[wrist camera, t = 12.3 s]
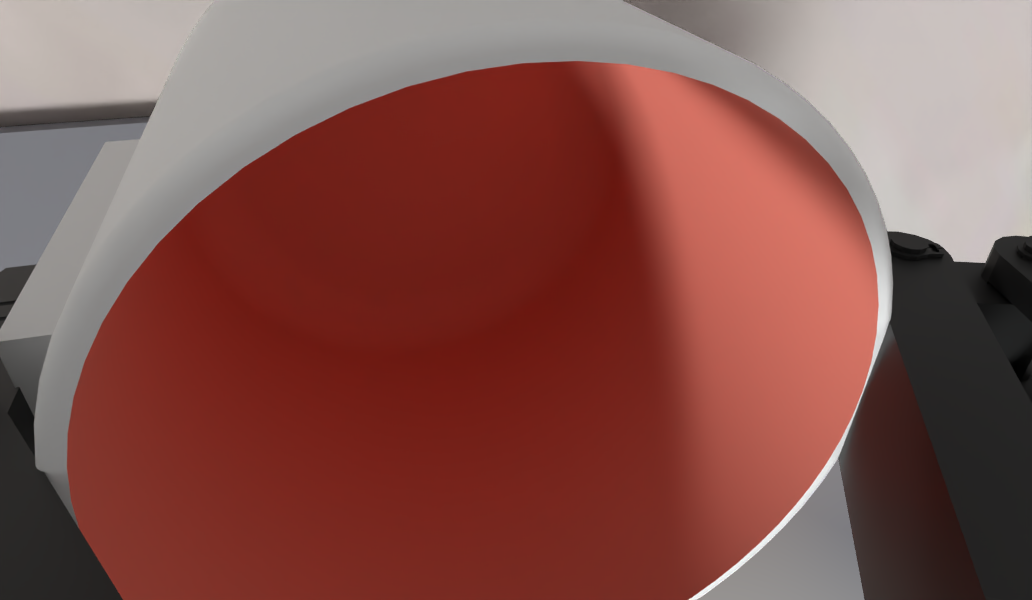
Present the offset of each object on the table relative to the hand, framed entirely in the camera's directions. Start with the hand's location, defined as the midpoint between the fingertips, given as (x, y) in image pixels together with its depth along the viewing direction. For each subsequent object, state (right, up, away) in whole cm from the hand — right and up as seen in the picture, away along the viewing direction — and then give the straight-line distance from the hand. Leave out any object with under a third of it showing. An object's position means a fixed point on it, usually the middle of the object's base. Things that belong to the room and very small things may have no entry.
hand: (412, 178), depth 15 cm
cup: (0, +1, +1) cm, 2 cm away
